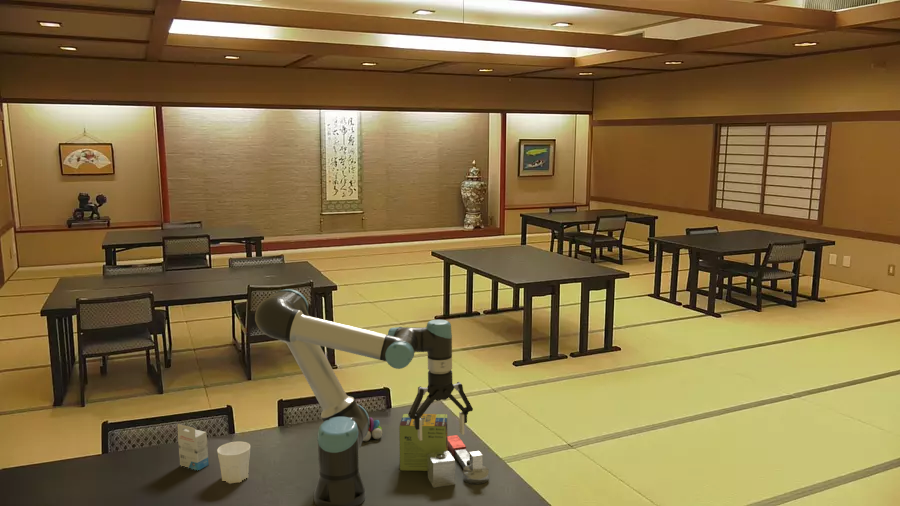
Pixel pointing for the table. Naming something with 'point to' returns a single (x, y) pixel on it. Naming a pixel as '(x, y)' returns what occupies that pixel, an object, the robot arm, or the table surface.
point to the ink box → (192, 447)
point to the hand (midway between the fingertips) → (441, 435)
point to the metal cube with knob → (441, 469)
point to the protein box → (432, 440)
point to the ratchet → (468, 461)
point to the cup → (234, 461)
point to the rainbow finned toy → (373, 430)
